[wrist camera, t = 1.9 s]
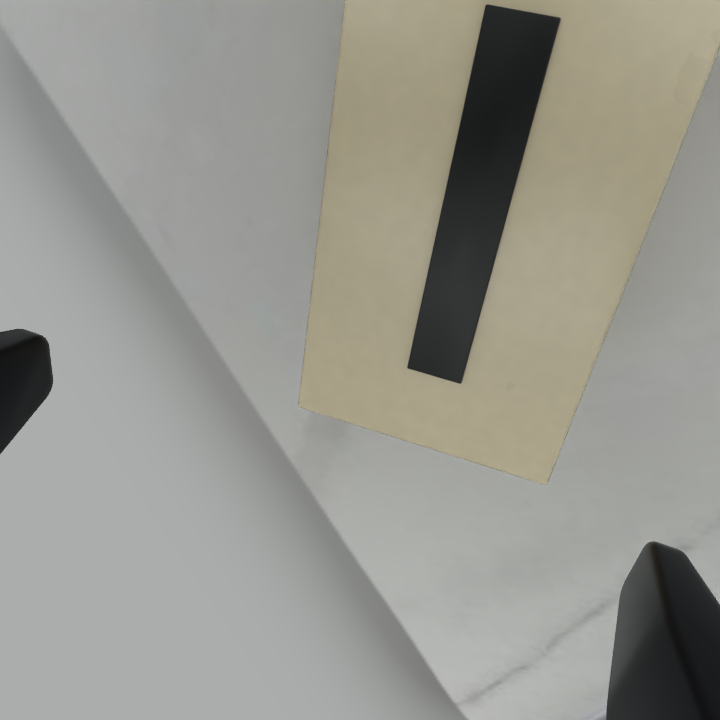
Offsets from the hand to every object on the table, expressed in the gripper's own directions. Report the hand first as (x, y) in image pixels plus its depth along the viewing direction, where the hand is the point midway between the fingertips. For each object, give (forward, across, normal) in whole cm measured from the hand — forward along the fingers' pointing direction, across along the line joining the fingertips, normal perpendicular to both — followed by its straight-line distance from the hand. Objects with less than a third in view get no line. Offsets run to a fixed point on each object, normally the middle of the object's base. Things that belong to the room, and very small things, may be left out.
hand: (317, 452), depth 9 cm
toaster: (+12, -1, -2) cm, 12 cm away
